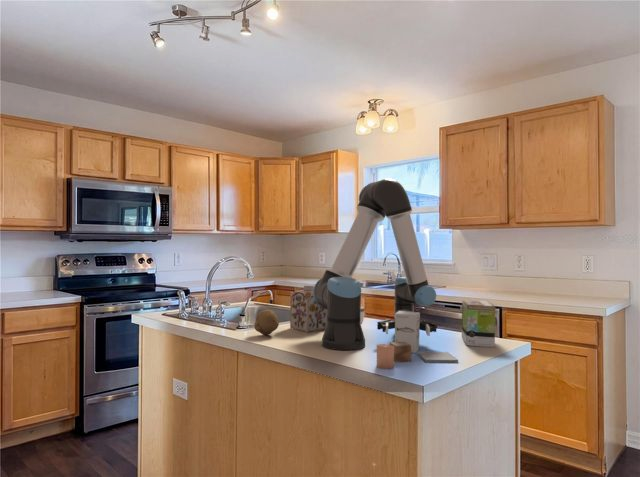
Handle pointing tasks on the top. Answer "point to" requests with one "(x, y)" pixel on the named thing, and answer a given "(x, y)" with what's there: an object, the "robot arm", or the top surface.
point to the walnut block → (401, 351)
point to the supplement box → (408, 328)
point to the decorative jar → (306, 311)
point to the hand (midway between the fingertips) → (407, 330)
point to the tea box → (478, 323)
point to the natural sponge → (266, 322)
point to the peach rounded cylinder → (385, 356)
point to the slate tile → (437, 357)
